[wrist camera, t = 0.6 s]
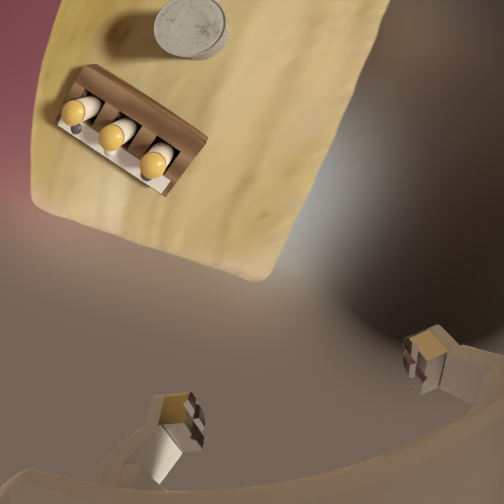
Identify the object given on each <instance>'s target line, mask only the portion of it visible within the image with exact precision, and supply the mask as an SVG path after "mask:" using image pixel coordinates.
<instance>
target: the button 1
mask: <svg viewBox="0 0 504 504" xmlns="http://www.w3.org/2000/svg"><path fill="white" fill-rule="evenodd" d="M102 107H103V102H102V100H101V99H100V98H99V97H97V96H96V95H91V96H87V97H83V98H80V99H77V100H72V101H69V102H67V103H66V104H65V105H64V107H63V109H62V114H61V115H62V119H63V121H64V123H65V124H66V125H68V126H75V125H77V124H79V123H81V122H83V121H85V120H87V119H90V118H92V117H94V116H96V115H98V114H99V113H100V111H101V109H102Z"/></svg>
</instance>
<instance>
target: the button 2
mask: <svg viewBox="0 0 504 504" xmlns="http://www.w3.org/2000/svg"><path fill="white" fill-rule="evenodd" d="M173 156H174V148H173V146H172V145H170V144H169V143H167V142H166V141H160V142H157V143H156V144H155V145H154V146H153V147H152V148H151V149H150V150H149V151H148V152H147V153H146V154H145V155H144V156H143V157H142V158H141V160H140V163H139V168H140V171H141V173H142V174H143V175H144V176H145V177H147V178H150V179H155V178H158V177H160V176H161V175H162V174H163V173H164V171H165V169H166V167H167V166H168V164H169V163H170V161H171V160H172V158H173Z"/></svg>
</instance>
